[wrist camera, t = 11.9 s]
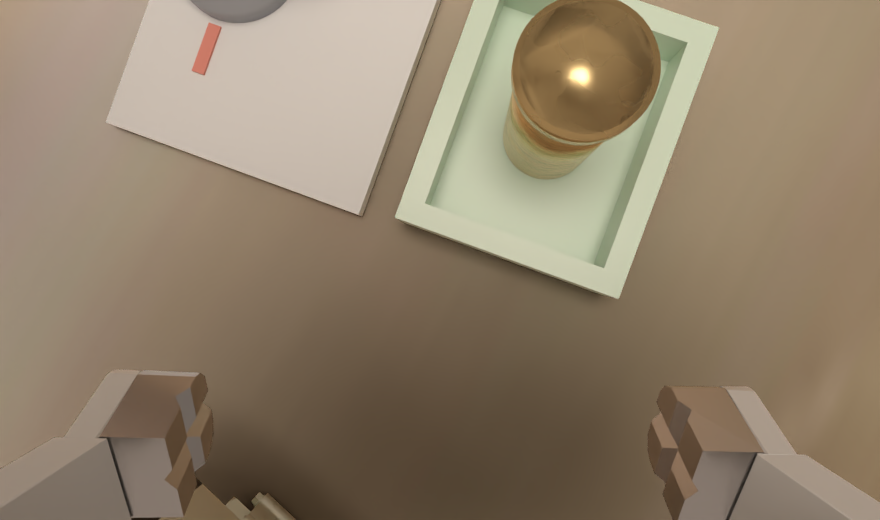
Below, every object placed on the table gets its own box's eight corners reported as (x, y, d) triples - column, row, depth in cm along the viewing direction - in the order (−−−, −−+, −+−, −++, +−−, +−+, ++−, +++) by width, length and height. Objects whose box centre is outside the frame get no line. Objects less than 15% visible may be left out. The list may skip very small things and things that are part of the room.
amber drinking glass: (484, 165, 29) (491, 112, 19) (517, 75, 29) (542, -26, 19) (575, 197, 28) (630, 160, 18) (608, 106, 28) (682, 21, 18)
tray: (403, 222, 30) (394, 217, 26) (489, -13, 30) (492, -50, 26) (601, 295, 29) (618, 299, 26) (689, 55, 29) (719, 27, 26)
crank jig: (117, 127, 31) (7, 84, 23) (202, -111, 31) (118, -227, 23) (362, 216, 30) (327, 201, 23) (450, -26, 30) (443, -119, 23)
